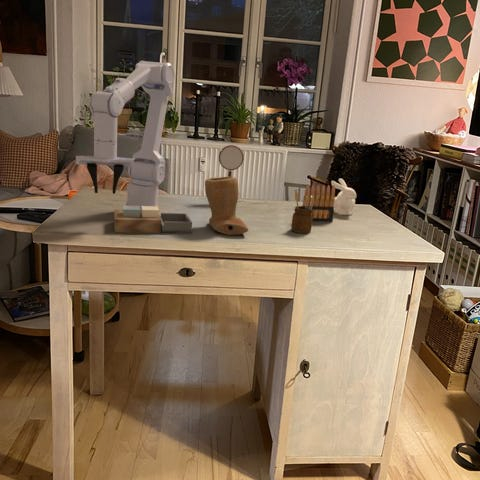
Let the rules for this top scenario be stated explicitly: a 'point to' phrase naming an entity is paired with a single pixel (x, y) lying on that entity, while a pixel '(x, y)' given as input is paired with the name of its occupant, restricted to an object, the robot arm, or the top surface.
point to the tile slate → (131, 211)
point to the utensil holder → (302, 217)
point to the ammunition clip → (320, 203)
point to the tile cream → (150, 211)
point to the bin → (175, 223)
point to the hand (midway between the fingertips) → (105, 192)
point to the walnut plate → (136, 223)
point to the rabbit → (344, 198)
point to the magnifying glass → (231, 158)
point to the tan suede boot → (224, 205)
